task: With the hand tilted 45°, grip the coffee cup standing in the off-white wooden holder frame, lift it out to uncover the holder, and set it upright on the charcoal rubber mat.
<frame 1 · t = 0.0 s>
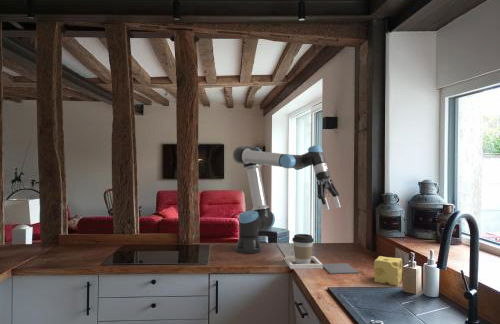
hand: (332, 209, 204), 28 cm above the worktop, tool tilted 20°, fingers open, 13 cm apart
coffee cup: (302, 264, 195), resting in holder frame
cheese: (387, 281, 168), on the worktop
rubber mat: (338, 269, 186), on the worktop
holder frame: (302, 264, 195), on the worktop
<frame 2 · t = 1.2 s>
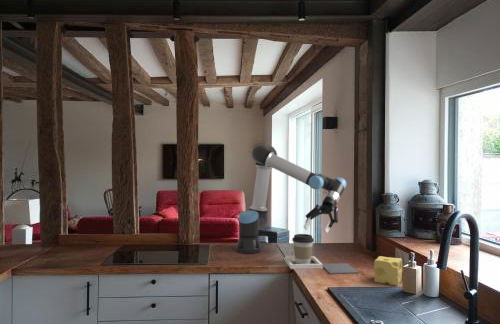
hand: (315, 230, 202), 17 cm above the worktop, tool tilted 45°, fingers open, 13 cm apart
nothing on the worktop moved.
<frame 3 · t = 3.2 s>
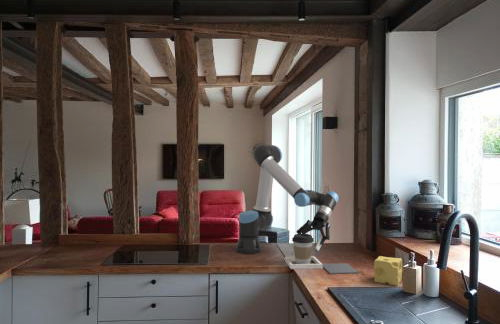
hand: (306, 247, 195), 9 cm above the worktop, tool tilted 45°, fingers open, 13 cm apart
nothing on the worktop moved.
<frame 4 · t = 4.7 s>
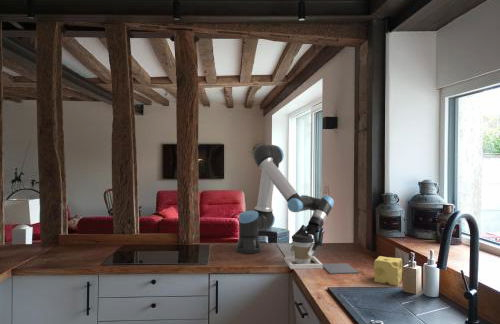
hand: (299, 253, 193), 6 cm above the worktop, tool tilted 45°, fingers closed on coffee cup, 11 cm apart
coffee cup: (302, 264, 195), resting in holder frame, touching gripper
everything else where it was.
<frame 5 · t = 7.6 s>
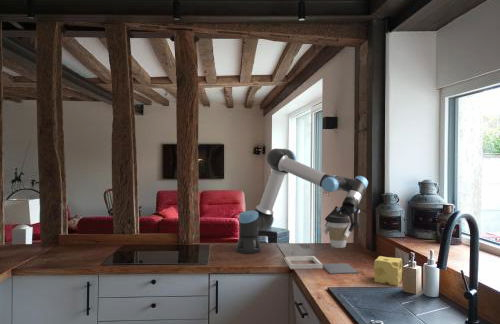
hand: (335, 234, 185), 18 cm above the worktop, tool tilted 45°, fingers closed on coffee cup, 11 cm apart
coffee cup: (338, 246, 186), point 11 cm above the worktop, touching gripper
everything else where it was.
when the fingers open (8 cm above the worktop, at t = 10.4 s): coffee cup drops 1 cm, resting on rubber mat.
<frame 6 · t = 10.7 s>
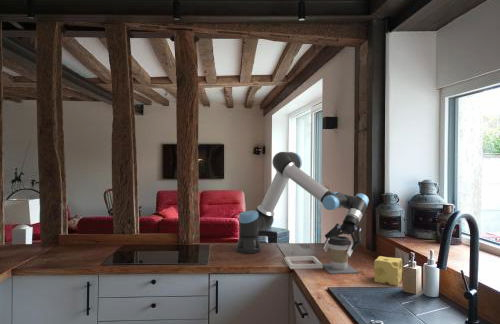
hand: (336, 252, 185), 9 cm above the worktop, tool tilted 45°, fingers open, 13 cm apart
coffee cup: (339, 268, 186), resting on rubber mat
everything else where it was.
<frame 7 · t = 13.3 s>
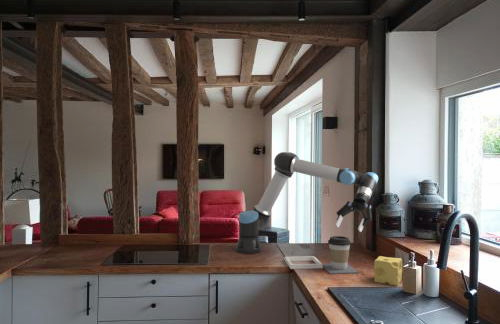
hand: (347, 228, 195), 19 cm above the worktop, tool tilted 40°, fingers open, 13 cm apart
nothing on the worktop moved.
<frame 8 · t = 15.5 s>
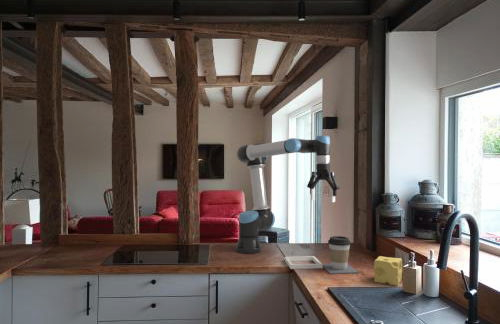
hand: (322, 201, 208), 32 cm above the worktop, tool pointing down, fingers open, 13 cm apart
nothing on the worktop moved.
at the end: coffee cup inside the target area on the rubber mat (0.2 cm from its centre), point 0.4 cm above the rubber mat's base; coffee cup tilted 0°; the gripper is holding nothing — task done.
